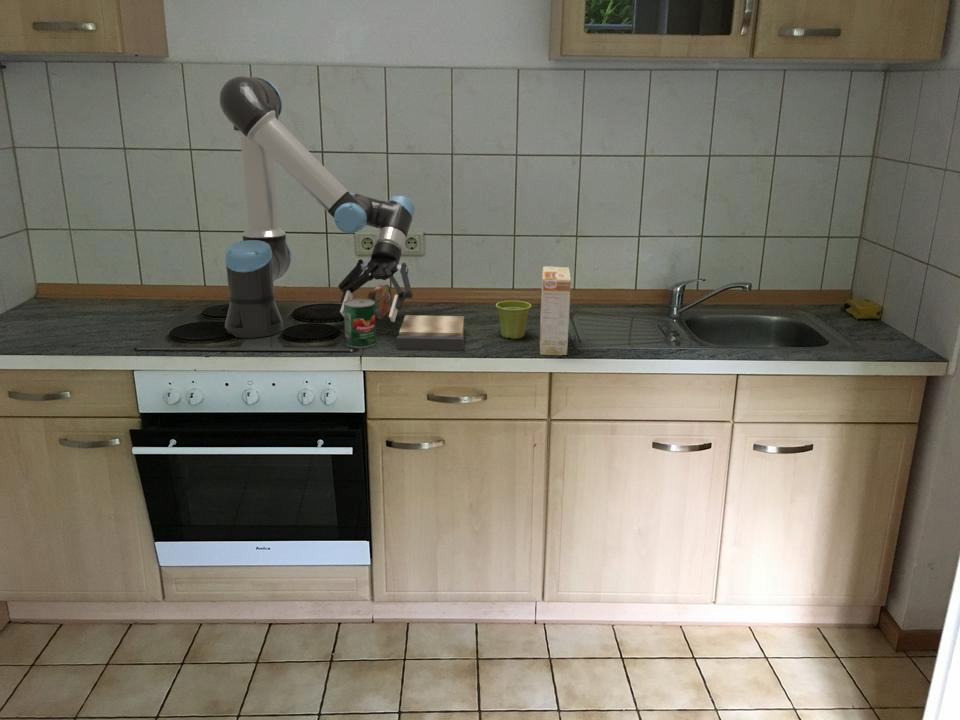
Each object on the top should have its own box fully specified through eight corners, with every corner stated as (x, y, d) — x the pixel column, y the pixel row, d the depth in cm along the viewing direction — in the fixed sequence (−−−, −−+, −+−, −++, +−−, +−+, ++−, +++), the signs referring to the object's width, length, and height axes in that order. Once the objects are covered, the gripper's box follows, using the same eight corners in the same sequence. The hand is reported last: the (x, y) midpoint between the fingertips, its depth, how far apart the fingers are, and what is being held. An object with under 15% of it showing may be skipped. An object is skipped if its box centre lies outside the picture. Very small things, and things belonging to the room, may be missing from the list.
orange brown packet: (376, 322, 220) (375, 293, 218) (366, 321, 221) (365, 292, 218) (392, 309, 234) (392, 281, 232) (382, 308, 235) (382, 281, 232)
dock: (396, 349, 197) (396, 334, 196) (404, 329, 214) (404, 315, 213) (463, 350, 197) (463, 335, 196) (465, 330, 214) (465, 316, 213)
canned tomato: (364, 350, 196) (363, 307, 193) (339, 345, 199) (337, 303, 196) (381, 341, 203) (380, 300, 200) (356, 337, 206) (355, 297, 203)
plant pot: (505, 342, 204) (505, 310, 201) (489, 333, 212) (490, 302, 209) (536, 338, 208) (537, 307, 205) (519, 329, 216) (520, 299, 213)
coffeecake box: (539, 337, 209) (542, 265, 203) (566, 338, 208) (570, 266, 202) (538, 355, 195) (542, 278, 188) (567, 356, 194) (571, 279, 188)
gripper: (435, 259, 209) (416, 328, 200) (350, 253, 215) (328, 319, 207) (428, 243, 202) (408, 313, 193) (341, 237, 209) (317, 305, 200)
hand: (367, 317), depth 200 cm, fingers open, 13 cm apart
